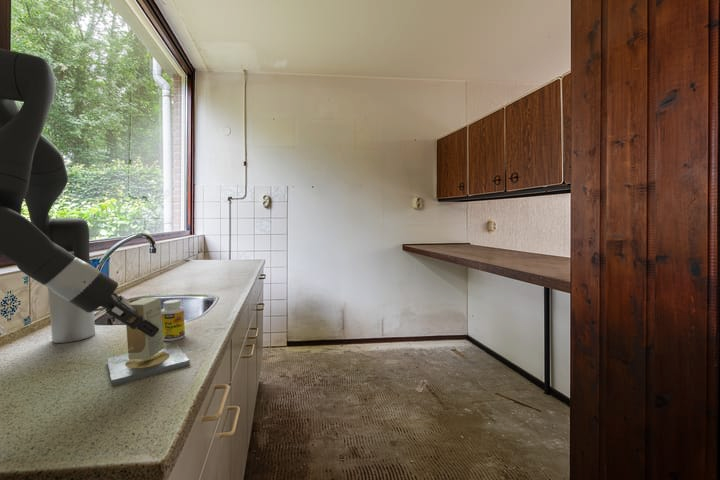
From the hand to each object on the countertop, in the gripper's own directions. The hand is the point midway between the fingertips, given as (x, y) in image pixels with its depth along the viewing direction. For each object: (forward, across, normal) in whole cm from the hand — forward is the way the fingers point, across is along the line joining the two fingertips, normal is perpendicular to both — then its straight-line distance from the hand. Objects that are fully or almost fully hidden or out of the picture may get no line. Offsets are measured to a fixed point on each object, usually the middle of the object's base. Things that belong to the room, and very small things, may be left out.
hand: (152, 328), depth 76 cm
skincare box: (+3, 0, +5) cm, 6 cm away
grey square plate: (+5, 0, +6) cm, 8 cm away
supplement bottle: (+10, +15, +1) cm, 18 cm away
